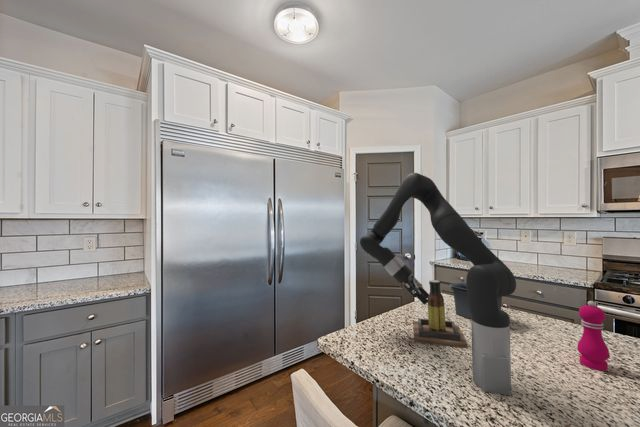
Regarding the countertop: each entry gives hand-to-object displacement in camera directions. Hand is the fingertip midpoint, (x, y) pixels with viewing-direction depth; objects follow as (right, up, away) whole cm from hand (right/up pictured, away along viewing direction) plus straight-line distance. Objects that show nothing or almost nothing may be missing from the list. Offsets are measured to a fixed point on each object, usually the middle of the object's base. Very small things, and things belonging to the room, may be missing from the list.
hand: (427, 300), depth 112 cm
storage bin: (+30, -14, +17) cm, 37 cm away
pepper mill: (+42, -13, -26) cm, 51 cm away
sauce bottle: (+3, -12, -2) cm, 12 cm away
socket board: (+3, -13, -2) cm, 14 cm away
